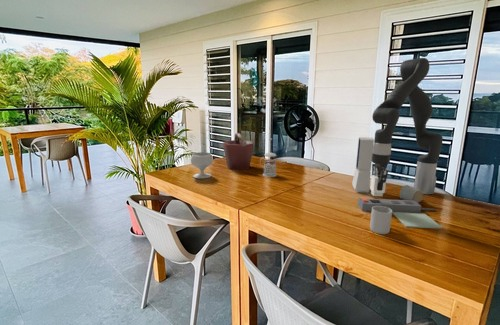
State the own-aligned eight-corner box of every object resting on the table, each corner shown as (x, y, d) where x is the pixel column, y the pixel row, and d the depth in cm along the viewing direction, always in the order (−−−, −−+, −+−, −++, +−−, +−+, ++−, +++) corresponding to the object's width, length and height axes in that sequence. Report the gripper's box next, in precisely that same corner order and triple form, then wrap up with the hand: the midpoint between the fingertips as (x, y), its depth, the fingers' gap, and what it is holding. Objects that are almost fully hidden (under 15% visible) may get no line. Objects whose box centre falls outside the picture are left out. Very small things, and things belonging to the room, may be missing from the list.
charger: (380, 193, 135) (382, 175, 133) (384, 196, 130) (386, 178, 128) (369, 192, 136) (371, 174, 134) (373, 196, 131) (375, 177, 129)
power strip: (430, 208, 136) (432, 199, 135) (438, 213, 129) (440, 205, 128) (357, 205, 139) (358, 196, 138) (361, 210, 132) (362, 202, 131)
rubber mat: (424, 214, 128) (424, 213, 128) (441, 228, 115) (442, 227, 114) (392, 213, 129) (392, 212, 129) (405, 227, 116) (406, 225, 116)
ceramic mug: (413, 205, 139) (415, 190, 137) (398, 199, 146) (400, 185, 145) (426, 202, 144) (429, 187, 142) (411, 197, 151) (413, 183, 149)
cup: (366, 230, 112) (369, 209, 110) (375, 222, 120) (377, 202, 118) (386, 236, 108) (388, 214, 106) (393, 227, 115) (396, 207, 113)
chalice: (217, 176, 186) (217, 153, 183) (201, 180, 176) (200, 157, 172) (203, 172, 195) (202, 151, 192) (187, 176, 185) (186, 154, 181)
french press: (277, 177, 186) (278, 139, 180) (259, 176, 186) (260, 139, 180) (276, 173, 195) (277, 137, 189) (259, 172, 195) (260, 136, 190)
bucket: (253, 171, 199) (253, 136, 193) (221, 171, 199) (221, 135, 193) (253, 163, 223) (253, 131, 217) (225, 163, 223) (224, 131, 217)
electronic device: (369, 193, 155) (375, 139, 148) (354, 192, 157) (360, 138, 150) (365, 186, 167) (370, 136, 160) (351, 185, 168) (356, 135, 162)
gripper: (396, 156, 121) (391, 193, 125) (384, 149, 135) (380, 184, 139) (378, 155, 122) (374, 193, 126) (368, 149, 136) (364, 183, 140)
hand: (377, 188), depth 132 cm, fingers closed on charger, 5 cm apart
